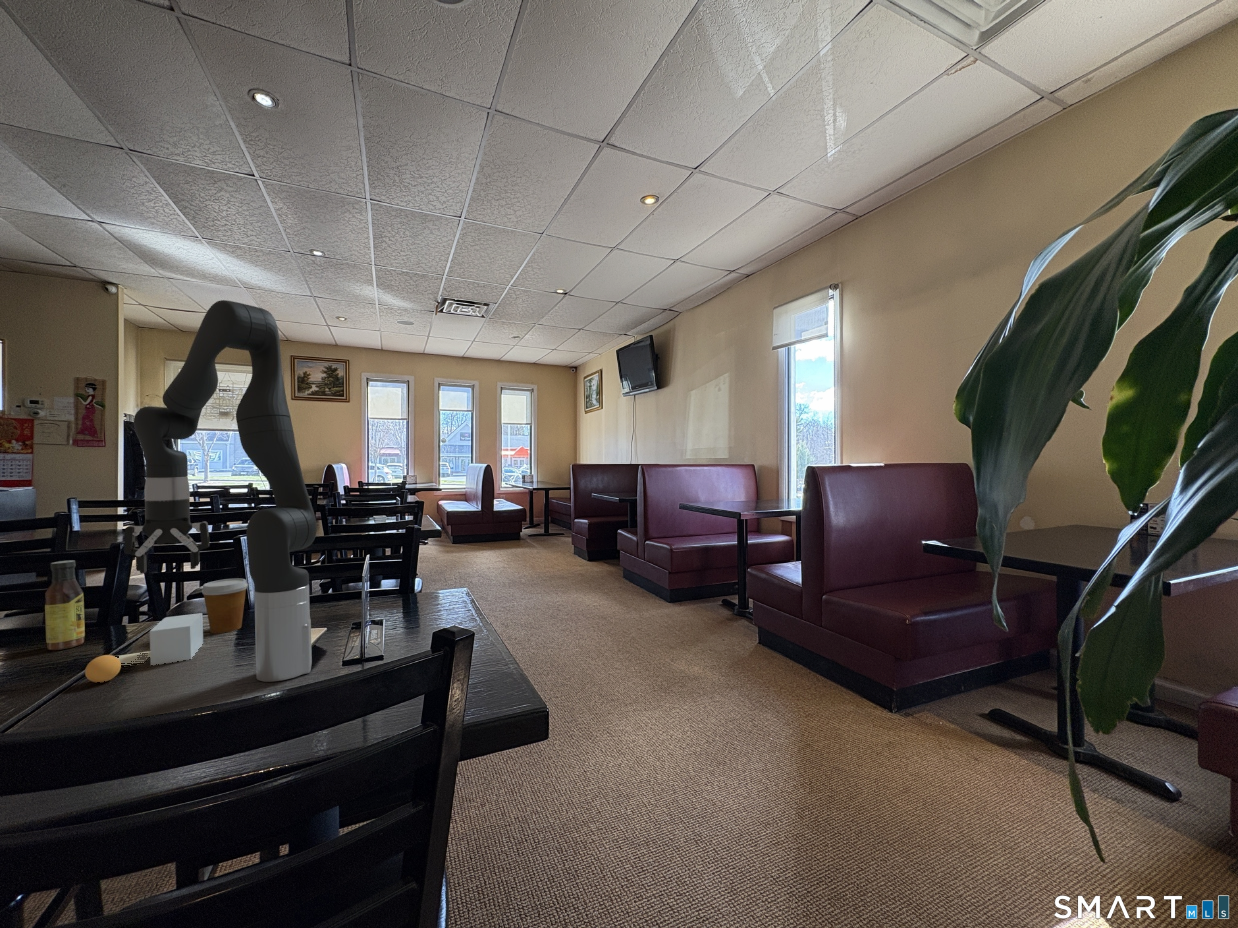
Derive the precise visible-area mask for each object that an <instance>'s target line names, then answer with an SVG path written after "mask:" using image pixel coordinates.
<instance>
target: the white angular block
mask: <svg viewBox="0 0 1238 928" xmlns="http://www.w3.org/2000/svg"><path fill="white" fill-rule="evenodd" d="M203 623H204V622H203V612H201V613H200V612H199V613H193V614H192V613H190V614H183V615H174V616H166V617H164V618H162V620H161V621H160V622H159V623H157V624H156V625H155V626H154V627H152V628H151V630H149V649H150V650H149V651H150V658H149V660H150V666H151V665H153V666H159V665H163V664H164V663H166V664H170V663H171V664H172V662H173V663H177V661H179V662H184V661H183V660H186V661H190V660H189V659H191V660H192V659H193V658H194V657H195V655H196V654H197V653H198V651H199V650H200V649H199V648H200V647H201V648H202V646H203V645H204V630H203V629H204V627H203V626H204V625H203ZM202 644H203V645H202ZM198 649H199V650H198ZM196 652H197V653H196ZM195 653H196V654H195ZM193 656H194V657H193ZM192 657H193V658H192ZM156 664H157V665H156ZM158 664H159V665H158Z"/></svg>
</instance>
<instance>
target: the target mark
mask: <svg viewBox="0 0 1238 928" xmlns="http://www.w3.org/2000/svg"><path fill="white" fill-rule="evenodd" d="M140 653H141V654H140ZM142 653H148V654H145V655H148V656H147V657H150V650H149V651H143V652H142V651H141V652H136V653H134V652H133V653H128V654H121V655H118V656H119V658H118V659H119V660H120V662H121V663H125V664H121V665H130V666H132V665H131V664H127V663H132V664H133V663H140V662H135V661H144V660H137V659H138V658H137V657H139V656H137V655H142ZM143 655H144V654H143ZM140 657H142V656H140ZM145 657H146V656H145ZM135 659H136V660H135ZM139 659H140V658H139ZM146 659H147V658H146ZM131 661H132V662H131ZM133 661H134V662H133ZM141 663H142V662H141ZM143 663H144V662H143ZM144 664H145V663H144Z"/></svg>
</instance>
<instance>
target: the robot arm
mask: <svg viewBox="0 0 1238 928" xmlns="http://www.w3.org/2000/svg"><path fill="white" fill-rule="evenodd" d="M197 330H198V331H197V332H196V335H195V337H194V340H193V342H192V344H191V347H190V349H189V352H188V354H187V357H186V359H185V362H184V364H182V367H181V369H180V370H179V372H178V373H177V374H176V376H175V377H174V379H173V380H172V381H171V383H170V384H169V386H168V387H167V388H166V389H165V390H164V393H163V394H162V402H163V404H164V406H143V407H141V408H139V409H138V410H137V412H136V413H135V414H134V417H133V427H134V430H135V434H136V436H137V437H138V440H139V443H140V446H141V449H142V453H143V456H144V459H145V484H144V518H145V519H144V524H143V525H134V524H131V525H129V526H126V527H125V529H124V547H123V553H124V555H131V556H134V557H135V571H136V572H139V574H146V573H147V568H148V566H147V564H148V563H147V554H146V552H148V551H149V550H150V548H152V546H153V545H154V544H157V545H164V544H177V543H182V545H184V546H186V547H187V548H188V549H189V550H190V551H191V552H190V570H195V569H197V567H198V566H199V564H201V561H200V560H201V559H200V551H202V550H206V549H208V548H209V547H210V545H211V542H210V532H209V523H208V522H207V521H202V522H194V523H192V521H191V506H190V504H191V503H190V500H191V499H190V496H191V492H190V491H191V490H190V483H189V478H188V477H189V475H188V474H189V473H188V472H189V471H188V470H189V469H188V468H189V467H188V464H189V463H188V455H187V454H186V453H185V452H184V451H181V450H176V449H173V448H169V447H167V446H166V444H165V443H164V440H186V439H189V438H190V437H192V436H193V435H194V434H195V433H196V432H197V429H198V427H199V420H200V418H201V414H202V412H203V411H202V410H203V408H204V407H205V406H206V405H207V403H208V402H209V401H210V400H211V399H212V397H213V396H214V394H215V392H216V391H217V389H218V385H219V378H218V377H219V376H218V370H217V368H216V360H217V359H216V358H217V357H218V355H219V354H220V353H222V351H223V350H224V349H226V348H229V349H233V350H234V349H235V350H240V351H247V352H248V353H249V356H250V362H251V371H252V373H251V377H250V378H251V379H250V382H249V384H248V386H247V387H246V390H245V391H244V393H243V395H242V397H241V399H240V401H239V403H238V405H237V407H236V408H237V409H236V412H235V419H236V425H237V431H238V436H239V441H240V444H241V447H242V449H243V450H244V453H245V454H246V456H247V457H248V459H249V460H250V461H251V462H252V464H254V465H255V467H256V468H257V469H258V471H259V472H260V473H261V474H262V475H263V476H264V478H265V479H266V480H267V482H268V484H269V486H270V488H271V490H272V494H273V497H274V503H275V507H271V508H263V509H260V510H257V511H256V512H254V513H253V514H252V515H251V517H250V518H249V520H248V523H247V525H246V526H247V527H246V533H245V534H246V550H247V551H246V552H247V559H248V573H249V575H250V578H251V580H252V582H253V587H254V588H253V590H254V595H253V596H254V626H255V627H254V628H255V629H254V630H255V631H254V632H255V637H254V638H255V671H256V680H257V681H259V682H260V681H261V682H265V683H266V682H267V683H270V682H280V681H285V680H289V679H294V678H297V677H300V676H301V675H305V674H310V673H311V669H312V663H313V662H312V661H313V659H312V656H313V655H312V622H311V621H312V620H311V614H310V613H311V612H310V574H309V572H308V570H307V569H304V568H301V567H296V566H294V565H293V564H292V563H291V557H290V553H291V552H295V551H299V550H303V549H307V548H309V546H311V545H312V544H313V543H314V541H315V539H316V536H317V530H318V528H317V527H318V526H317V518H316V516H315V515H316V514H315V512H314V508H313V506H312V502H311V500H310V495H309V493H308V490H307V486H306V484H305V480H304V475H303V473H302V468H301V464H300V463H301V462H300V459H299V455H298V450H297V446H296V445H297V444H296V439H295V432H294V428H293V427H294V426H293V423H292V417H291V413H290V410H289V405H288V400H287V394H286V388H285V383H284V376H283V369H282V357H281V343H280V332H279V327H278V325H277V321H276V318H275V316H273V313H271V312H270V311H269V310H268V309H264V308H262V307H258V306H254V305H250V304H246V303H242V302H237V301H233V300H227V299H226V300H225V299H223V300H222V299H221V300H217V301H216V302H214V303H213V304H212V305H211V306H210V307H209V308H208V310H207V311H206V313H205V314H204V316H203V319H202V320H201V323H200V325H199V328H198V329H197ZM192 529H195V531H196V532H197V533H200V543H199V544H198V543H197V542H196V541H194V539H193V538H192V537H191V536H190V535H189V533H190V532H191V530H192ZM141 532H143V533H144V534H145V535H146V536H147V537H148V538H147V539H146V540H145V541H144V543H143V544H142V545H141V546H140V547H139V548H136V547H135V544H136V537H137V536H138V535H140V533H141Z"/></svg>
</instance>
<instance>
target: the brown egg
mask: <svg viewBox="0 0 1238 928" xmlns="http://www.w3.org/2000/svg"><path fill="white" fill-rule="evenodd" d="M115 656H116V655H112V654H105V655H100V656H97V657H95V658H94V659H92V660H91V661H90V662H89V663H87V665H86V667H85V669H84V675H85V677H86V678H87V680H89V681H90V682H93V683H97V682H100V683H105V682H108V681H110V680H112V679H114V678H115V677H116V676H118V674H119V673H120V671H121V668H122V667H121V662H120V660H119V659H118V658H117V657H115ZM104 681H105V682H104Z"/></svg>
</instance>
